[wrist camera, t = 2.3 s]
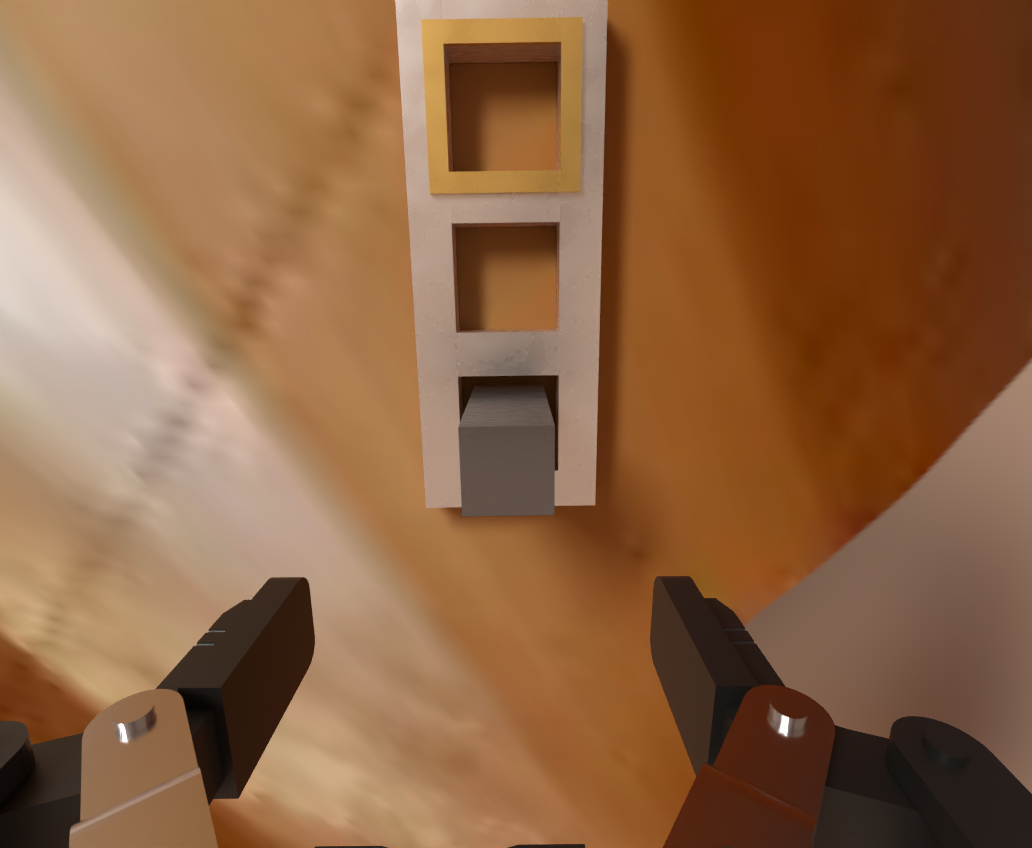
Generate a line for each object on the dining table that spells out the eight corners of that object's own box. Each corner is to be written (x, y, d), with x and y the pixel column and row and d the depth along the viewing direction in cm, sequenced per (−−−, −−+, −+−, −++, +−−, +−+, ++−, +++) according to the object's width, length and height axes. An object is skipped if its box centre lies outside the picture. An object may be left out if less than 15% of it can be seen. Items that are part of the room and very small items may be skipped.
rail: (601, 11, 27) (609, -14, 25) (590, 492, 33) (596, 507, 31) (403, 14, 27) (393, -11, 25) (431, 495, 33) (425, 509, 31)
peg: (542, 383, 32) (554, 425, 22) (542, 447, 33) (554, 515, 23) (475, 384, 32) (457, 427, 22) (477, 448, 33) (462, 516, 23)
